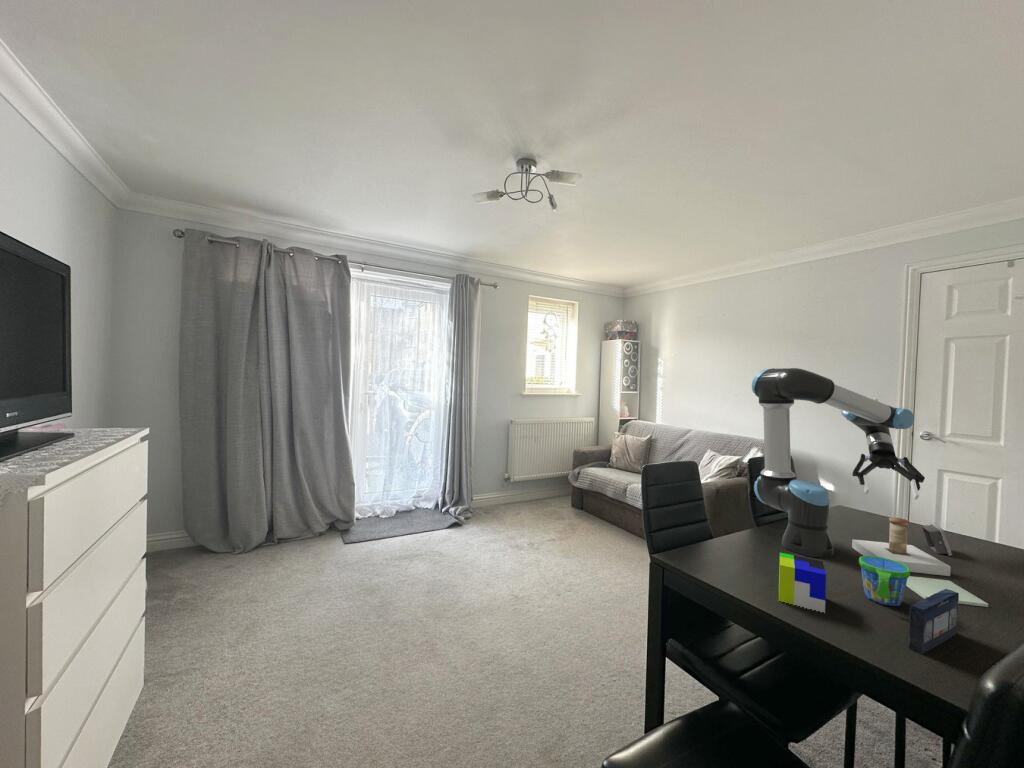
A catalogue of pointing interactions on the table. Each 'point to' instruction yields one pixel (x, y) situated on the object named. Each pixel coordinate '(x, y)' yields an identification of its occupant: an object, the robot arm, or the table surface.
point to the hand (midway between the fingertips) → (891, 494)
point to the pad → (932, 586)
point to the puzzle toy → (802, 582)
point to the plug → (898, 536)
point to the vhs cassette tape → (933, 620)
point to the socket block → (903, 557)
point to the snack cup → (884, 579)
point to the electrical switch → (937, 539)
